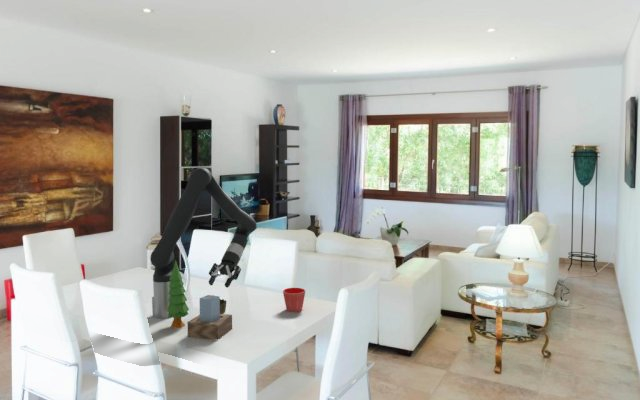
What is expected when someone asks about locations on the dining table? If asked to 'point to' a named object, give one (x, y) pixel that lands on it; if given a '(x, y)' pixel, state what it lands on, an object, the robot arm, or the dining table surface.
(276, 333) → the dining table surface
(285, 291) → the flower pot
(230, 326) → the square wooden tray
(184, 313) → the decorative tree
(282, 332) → the dining table surface
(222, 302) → the cup
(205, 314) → the blue-grey square-topped block
